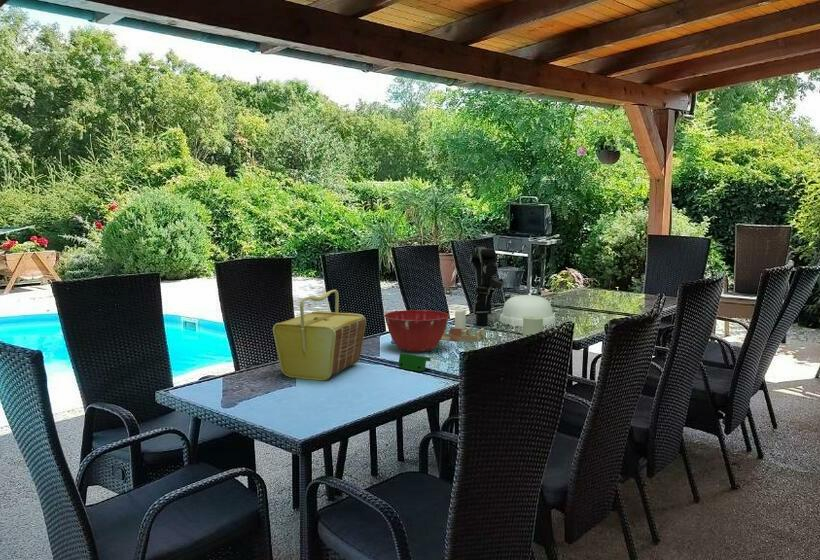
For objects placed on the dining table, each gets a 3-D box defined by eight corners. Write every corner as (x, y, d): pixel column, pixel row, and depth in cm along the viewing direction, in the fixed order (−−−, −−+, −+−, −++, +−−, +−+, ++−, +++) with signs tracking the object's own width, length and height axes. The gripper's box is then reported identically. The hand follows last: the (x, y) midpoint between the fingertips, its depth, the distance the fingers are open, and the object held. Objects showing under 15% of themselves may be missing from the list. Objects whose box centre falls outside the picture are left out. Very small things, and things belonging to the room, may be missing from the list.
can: (520, 343, 285) (520, 317, 284) (524, 339, 294) (525, 314, 292) (540, 345, 282) (541, 318, 280) (544, 340, 290) (545, 315, 289)
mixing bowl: (392, 340, 293) (392, 308, 291) (453, 343, 287) (453, 309, 285) (377, 355, 265) (376, 319, 263) (444, 357, 259) (444, 321, 257)
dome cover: (521, 314, 362) (521, 290, 360) (567, 320, 341) (567, 295, 339) (487, 322, 339) (487, 296, 337) (534, 329, 318) (534, 302, 317)
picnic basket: (334, 384, 222) (332, 300, 219) (271, 377, 231) (269, 297, 228) (368, 364, 249) (367, 289, 246) (311, 359, 258) (309, 287, 255)
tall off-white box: (458, 336, 300) (458, 309, 298) (465, 337, 298) (465, 310, 297) (454, 338, 295) (455, 311, 294) (462, 339, 294) (462, 311, 292)
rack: (444, 334, 306) (444, 322, 306) (484, 337, 298) (484, 325, 298) (435, 339, 294) (435, 327, 294) (476, 343, 287) (476, 330, 286)
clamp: (424, 380, 242) (435, 360, 240) (416, 380, 237) (426, 359, 236) (403, 364, 249) (413, 344, 247) (394, 363, 244) (405, 343, 242)
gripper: (497, 276, 300) (497, 308, 302) (507, 272, 317) (507, 303, 319) (475, 275, 305) (475, 307, 307) (486, 271, 322) (486, 301, 324)
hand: (486, 304), depth 314 cm, fingers open, 9 cm apart
